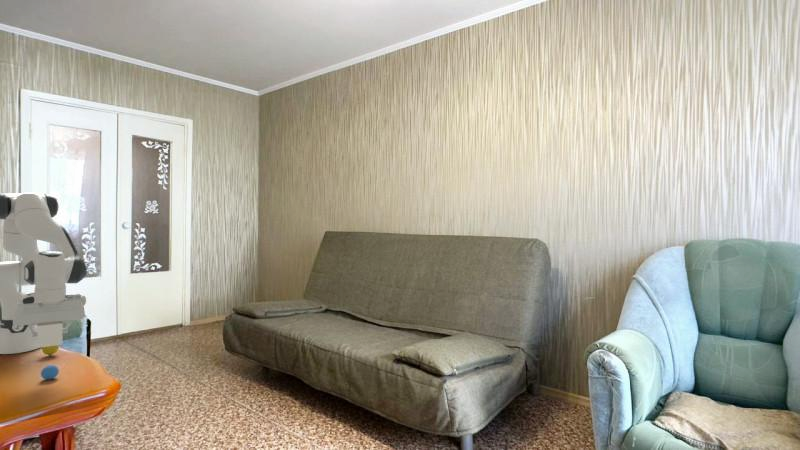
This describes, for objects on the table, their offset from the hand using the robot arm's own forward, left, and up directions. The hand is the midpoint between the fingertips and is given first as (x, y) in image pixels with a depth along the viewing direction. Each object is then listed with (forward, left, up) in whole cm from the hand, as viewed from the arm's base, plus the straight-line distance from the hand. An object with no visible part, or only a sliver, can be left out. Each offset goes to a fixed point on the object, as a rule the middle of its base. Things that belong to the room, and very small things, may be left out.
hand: (50, 334), depth 157 cm
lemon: (-34, 0, -16) cm, 38 cm away
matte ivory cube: (0, 0, -3) cm, 3 cm away
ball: (0, 0, -14) cm, 14 cm away
